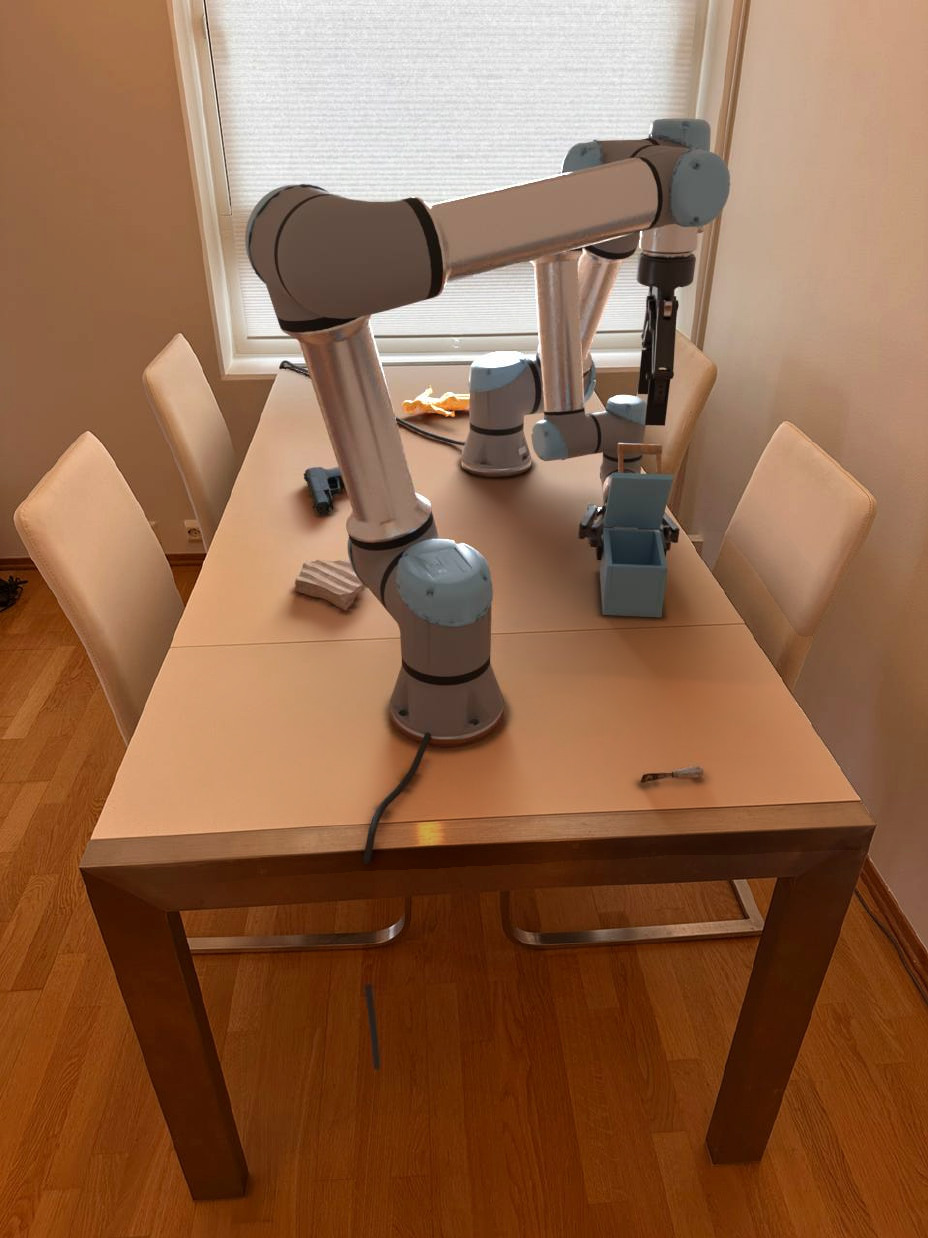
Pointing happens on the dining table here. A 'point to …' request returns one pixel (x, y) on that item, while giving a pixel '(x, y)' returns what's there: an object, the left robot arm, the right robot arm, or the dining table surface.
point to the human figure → (437, 403)
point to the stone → (329, 581)
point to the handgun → (323, 487)
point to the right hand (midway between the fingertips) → (631, 554)
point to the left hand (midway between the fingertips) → (650, 408)
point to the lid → (637, 492)
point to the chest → (632, 572)
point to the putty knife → (674, 774)
